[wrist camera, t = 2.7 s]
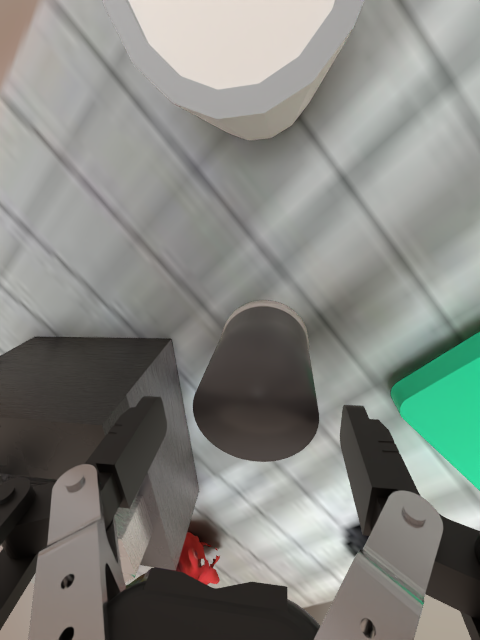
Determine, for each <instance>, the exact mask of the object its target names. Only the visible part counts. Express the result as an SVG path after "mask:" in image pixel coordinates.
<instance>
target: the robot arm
mask: <svg viewBox="0 0 480 640" xmlns="http://www.w3.org/2000/svg"><path fill="white" fill-rule="evenodd" d="M166 431H167V420H166V416H165V411H164V406H163V402H162V399H161V397H153V396H144V397H142V398H141V400H140V401H139V402H138V404H137V405H136V407H131V408H129V409H128V410H127V411H126V412H124V413H123V414H122V415H121V416H120V417H119V418H118V420H117V421H116V422H115V424H114V426H112V428H111V429H110V430H109V432H108V434H106V436H105V437H104V438H103V440H102V441H101V442H100V444H99V445H98V446H97V448H96V449H95V450H94V452H93V453H92V454H91V456H90V457H89V458H88V460H87V461H86V462H85V464H83V465H79V466H76V467H74V468H72V469H70V470H68V471H67V472H65V473H64V474H63V475H62V476H61V477H60V478H59V479H58V480H57V481H56V482H52V483H48V484H43V485H38V486H34V487H32V485H31V483H30V481H29V480H28V479H27V478H24V477H18V478H14V479H11V480H8V481H6V482H4V483H2V484H0V546H1V545H2V547H3V549H2V550H1V552H0V630H1V628H2V626H3V625H4V623H5V622H6V620H7V618H8V616H9V615H10V613H11V612H12V610H13V609H14V607H15V605H16V604H17V602H18V600H19V599H20V597H21V595H22V594H23V592H24V590H25V589H26V587H27V586H28V584H29V582H30V581H31V579H32V578H33V576H34V574H35V573H36V576H35V585H34V594H33V602H32V611H31V620H30V630H29V639H28V640H414V637H415V633H416V629H417V626H418V622H419V619H420V615H421V612H422V608H423V604H424V596H425V594H426V595H429V596H431V597H433V598H434V599H437V600H439V601H441V602H443V603H445V604H447V605H449V606H451V607H453V608H455V609H457V610H459V611H460V612H461V614H462V617H463V619H464V622H465V624H466V627H467V629H468V632H469V635H470V637H471V640H480V531H478V530H475V529H472V528H470V527H467V526H464V525H462V524H459V523H457V522H454V521H451V520H449V519H447V518H445V517H443V516H442V515H440V514H439V513H438V512H437V510H436V509H435V508H434V507H433V506H432V505H431V504H430V503H429V502H428V501H427V500H426V499H424V498H423V497H421V496H420V494H419V492H418V490H417V488H416V486H415V484H414V482H413V480H412V478H411V476H410V474H409V472H408V469H407V467H406V465H405V463H404V461H403V459H402V457H401V455H400V454H399V451H398V449H397V446H396V444H394V440H393V438H392V436H391V434H390V432H389V430H388V429H387V428H386V427H385V426H384V425H383V424H382V423H381V422H380V421H379V420H374V419H369V417H368V415H367V413H366V410H365V408H364V406H355V405H344V406H343V411H342V420H341V429H340V443H341V449H342V453H343V457H344V461H345V465H346V469H347V473H348V477H349V481H350V485H351V489H352V494H353V498H354V502H355V506H356V510H357V514H358V518H359V522H360V526H361V530H362V534H363V535H368V536H369V538H368V540H367V542H366V544H365V546H364V548H363V550H362V551H361V550H360V551H359V552H358V553H357V555H356V557H355V558H354V560H353V562H352V564H351V566H350V568H349V570H348V572H347V574H346V576H345V578H344V580H343V582H342V584H341V586H340V588H339V590H338V592H337V594H336V596H335V598H334V600H333V602H332V605H331V606H330V608H329V610H328V612H327V614H326V616H325V618H324V620H323V622H322V624H321V626H320V625H319V624H318V623H317V622H316V620H315V619H314V618H313V617H312V616H311V615H310V614H309V613H307V612H306V611H305V610H304V609H303V608H301V607H300V606H298V605H297V604H295V603H294V602H292V601H290V600H288V599H287V587H285V586H278V585H271V584H264V583H257V582H248V583H243V584H238V585H233V586H228V587H223V588H217V589H215V588H211V587H209V586H208V585H206V584H204V583H202V582H200V581H198V580H196V579H195V578H193V577H191V576H189V575H187V574H185V573H183V572H178V571H171V570H164V569H157V568H151V570H150V572H149V575H148V578H147V580H145V581H142V582H139V583H136V584H134V585H132V586H130V587H128V588H126V585H125V581H124V577H123V573H122V568H121V560H120V553H119V545H118V537H117V529H116V522H115V517H114V515H115V514H116V512H117V510H118V508H128V509H130V507H131V505H132V503H133V501H134V499H135V497H136V495H137V492H138V490H139V488H140V486H141V484H142V482H143V480H144V478H145V476H146V474H147V472H148V470H149V468H150V466H151V464H152V462H153V460H154V458H155V456H156V454H157V452H158V450H159V448H160V446H161V444H162V442H163V440H164V437H165V435H166Z"/></svg>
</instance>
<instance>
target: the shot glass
mask: <svg viewBox="0 0 480 640" xmlns="http://www.w3.org/2000/svg"><path fill="white" fill-rule="evenodd" d="M363 2H364V0H103V4H104V7H105V9H106V11H107V13H108V15H109V17H110V19H111V21H112V23H113V25H114V27H115V29H116V31H117V33H118V35H119V37H120V39H121V41H122V43H123V45H124V47H125V49H126V51H127V53H128V55H129V57H130V59H131V61H132V63H133V65H134V66H135V67H136V68H137V69H138V70H139V71H140V72H141V73H142V74H143V75H144V76H145V77H146V78H147V79H148V80H149V81H150V82H151V83H152V84H153V85H154V86H155V87H156V88H157V89H158V90H159V91H161V92H162V93H163V94H164V95H165V96H166V97H167V98H168V99H169V100H170V101H171V102H172V103H173V104H175V105H177V106H179V107H181V108H183V109H184V110H186V111H188V112H190V113H192V114H194V115H195V116H197V117H199V118H201V119H203V120H205V121H207V122H208V123H210V124H212V125H214V126H216V127H218V128H219V129H221V130H223V131H225V132H227V133H229V134H232V135H234V136H237V137H240V138H243V139H245V140H248V141H251V140H260V139H269V138H272V137H274V136H275V135H277V134H279V133H280V132H282V131H284V130H285V129H287V128H289V127H290V126H292V125H293V123H294V122H295V121H296V119H297V118H298V117H299V116H300V114H301V113H302V112H303V110H304V109H305V108H306V107H307V105H308V104H309V102H310V101H311V99H312V97H313V96H314V94H315V92H316V91H317V89H318V87H319V86H320V84H321V82H322V80H323V79H324V77H325V75H326V74H327V72H328V70H329V69H330V67H331V65H332V64H333V62H334V60H335V58H336V57H337V55H338V53H339V52H340V50H341V48H342V47H343V45H344V43H345V42H346V40H347V38H348V36H349V35H350V33H351V31H352V30H353V28H354V26H355V24H356V21H357V18H358V16H359V13H360V10H361V8H362V5H363Z"/></svg>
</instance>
